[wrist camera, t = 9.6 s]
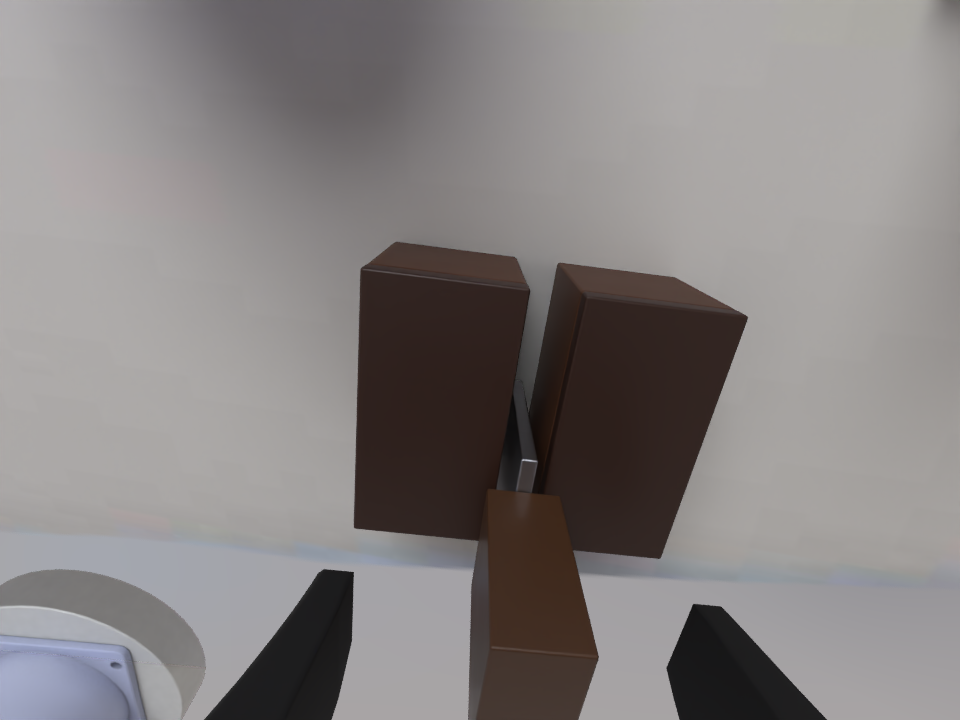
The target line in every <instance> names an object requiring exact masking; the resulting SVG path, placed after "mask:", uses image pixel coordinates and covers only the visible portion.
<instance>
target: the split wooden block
mask: <svg viewBox="0 0 960 720" xmlns="http://www.w3.org/2000/svg"><path fill="white" fill-rule="evenodd" d="M529 295H530V289H529V286H528V285H527V283H526V281H525V278H524V276H523V274H522V271H521V269H520V266H519V264H518V261H517V259H516V258H515V257H510V256H502V255H494V254H486V253H478V252H471V251H463V250H455V249H447V248H439V247H432V246H424V245H416V244H408V243H400V242H395V243H394V244H392V245H391V246H390V247H388V248H387V249H386V250H385V251H383V252H382V253H381V254H380V255H378V256H377V257H376V258H375V259H373V260H372V261H371V262H370V263H368V264H366V265H365V266H363V267H362V268H361V274H360V312H359V350H358V388H357V426H356V464H355V502H354V528H356V529H365V530H375V531H385V532H395V533H405V534H415V535H425V536H436V537H446V538H456V539H466V540H476V541H479V536H480V529H481V523H482V517H483V511H484V505H485V498H486V492H487V490H488V489H496V488H497V482H498V476H499V470H500V464H501V459H502V453H503V447H504V441H505V435H506V429H507V423H508V418H509V412H510V406H511V400H512V394H513V388H514V382H515V377H516V371H517V365H518V359H519V353H520V347H521V341H522V336H523V330H524V324H525V318H526V312H527V306H528V300H529ZM747 319H748V317H747V316H746V315H744V314H742V313H740V312H739V311H737V310H734V309H733V308H731V307H729V306H727V305H725V304H723V303H721V302H720V301H718V300H716V299H714V298H712V297H710V296H708V295H707V294H705V293H703V292H701V291H699V290H697V289H695V288H694V287H692V286H690V285H688V284H686V283H684V282H682V281H680V280H679V279H677V278H674V277H666V276H659V275H651V274H643V273H635V272H627V271H620V270H612V269H604V268H596V267H588V266H581V265H573V264H565V263H558V265H557V269H556V275H555V280H554V285H553V291H552V296H551V301H550V306H549V312H548V317H547V322H546V327H545V333H544V338H543V343H542V349H541V354H540V359H539V364H538V370H537V375H536V380H535V385H534V391H533V396H532V401H531V407H530V412H529V419H530V424H531V429H532V434H533V439H534V444H535V450H536V455H537V460H538V464H537V469H536V473H535V478H534V483H533V488H532V493H534V494H544V495H553V496H559V497H560V499H561V503H562V507H563V511H564V515H565V520H566V524H567V528H568V532H569V536H570V540H571V544H572V548H573V550H576V551H586V552H596V553H606V554H617V555H627V556H637V557H647V558H657V559H659V558H661V555H662V553H663V550H664V547H665V544H666V542H667V539H668V536H669V533H670V531H671V528H672V525H673V522H674V520H675V517H676V514H677V512H678V509H679V506H680V503H681V501H682V498H683V495H684V492H685V490H686V487H687V484H688V481H689V479H690V476H691V473H692V470H693V468H694V465H695V462H696V459H697V457H698V454H699V451H700V448H701V446H702V443H703V440H704V437H705V435H706V432H707V429H708V426H709V424H710V421H711V418H712V415H713V413H714V410H715V407H716V404H717V402H718V399H719V396H720V393H721V391H722V388H723V385H724V382H725V380H726V377H727V374H728V372H729V369H730V366H731V363H732V361H733V358H734V355H735V352H736V350H737V347H738V344H739V341H740V339H741V336H742V333H743V330H744V328H745V325H746V322H747Z"/></svg>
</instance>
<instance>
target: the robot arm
mask: <svg viewBox="0 0 960 720" xmlns="http://www.w3.org/2000/svg"><path fill="white" fill-rule="evenodd" d="M353 577H354V572H347V571H336V570H326V569H324V570H322V571H321V572H319V573H318V574H317V576H316V578H315V579H314V581H313V582H312V584H311V585H310V587H309V588H308V590H307V591H306V593H305V594H304V595H303V597H302V598H301V600H300V601H299V603H298V604H297V605H296V607H295V608H294V610H293V611H292V612H291V614H290V615H289V616H288V618H287V619H286V620H285V622H284V623H283V624H282V626H281V627H280V628H279V630H278V631H277V633H276V634H275V635H274V636H273V638H272V639H271V640H270V641H269V643H268V644H267V645H266V646H265V648H264V649H263V650H262V651H261V653H260V654H259V655H258V657H257V658H256V659H255V660H254V662H253V663H252V664H251V665H250V666H249V668H248V669H247V670H246V672H245V673H244V674H243V675H242V676H241V678H240V679H239V680H238V681H237V683H236V684H235V685H234V686H233V687H232V688H231V689H230V691H229V692H228V693H227V694H226V695H225V696H224V697H223V699H222V700H221V701H220V702H219V703H218V705H217V706H216V707H215V708H214V709H213V710H212V711H211V712H210V714H209V715H208V716H207V717H206V718H205V719H204V720H331V719H332V716H333V713H334V710H335V707H336V704H337V701H338V697H339V693H340V689H341V685H342V681H343V676H344V672H345V668H346V664H347V659H348V655H349V651H350V646H351V642H352V616H353V615H352V614H353ZM667 672H668V676H669V681H670V685H671V689H672V693H673V697H674V701H675V705H676V708H677V712H678V716H679V719H680V720H827V719H826V718H825V717H824V716H823V715H822V714H821V713H820V712H819V711H818V710H817V709H816V708H815V707H814V706H813V705H812V703H811V702H810V701H808V699H807V698H806V697H805V696H804V695H803V694H802V693H801V692H800V691H799V690H798V689H797V687H796V686H795V685H794V684H793V683H792V682H791V681H790V680H789V679H788V678H787V677H786V676H785V675H784V674H783V672H782V671H781V670H780V669H779V668H778V667H777V666H776V665H775V664H774V663H773V662H772V661H771V659H770V658H769V657H768V656H767V655H766V654H765V653H764V652H763V651H762V650H761V649H760V648H759V646H758V645H757V644H756V643H755V642H754V641H753V640H752V639H751V638H750V637H749V636H748V634H747V633H746V632H745V631H744V630H743V629H742V628H741V627H740V626H739V625H738V624H737V623H736V622H735V621H734V619H733V618H732V617H731V616H730V615H729V614H728V613H727V612H726V611H725V610H724V609H723V608H722V607H720V606H710V605H699V604H693V606H692V609H691V611H690V613H689V616H688V618H687V621H686V623H685V625H684V628H683V630H682V632H681V635H680V637H679V640H678V642H677V645H676V647H675V649H674V651H673V654H672V656H671V659H670V661H669V663H668V666H667ZM0 720H146V716H145V712H144V708H143V704H142V700H141V696H140V692H139V688H138V683H137V679H136V675H135V671H134V667H133V663H132V659H131V655H130V651H129V650H128V649H127V648H126V647H124V646H121V645H113V644H101V643H90V642H78V641H66V640H55V639H43V638H32V637H20V636H8V635H0Z"/></svg>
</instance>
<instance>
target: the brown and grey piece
mask: <svg viewBox="0 0 960 720" xmlns="http://www.w3.org/2000/svg"><path fill="white" fill-rule="evenodd" d="M537 464H538V460H537V455H536V450H535V444H534V439H533V434H532V429H531V424H530V419H529V414H528V408H527V403H526V398H525V393H524V388H523V383H522V381H519V380H515V382H514V388H513V394H512V400H511V406H510V412H509V418H508V423H507V429H506V435H505V441H504V447H503V453H502V459H501V464H500V470H499V476H498V482H497V488H496V489H488V490H487V492H486V498H485V505H484V511H483V517H482V523H481V529H480V536H479V542H478V548H477V554H476V561H475V567H474V573H473V579H472V589H471V629H470V670H469V710H468V720H578V719H579V716H580V713H581V709H582V706H583V703H584V701H585V698H586V695H587V691H588V689H589V685H590V683H591V680H592V677H593V674H594V671H595V668H596V664H597V662H598V658H599V656H598V652H597V648H596V644H595V640H594V635H593V631H592V627H591V624H590V619H589V615H588V611H587V607H586V602H585V599H584V594H583V590H582V586H581V582H580V577H579V573H578V569H577V565H576V561H575V557H574V553H573V548H572V544H571V540H570V536H569V532H568V528H567V524H566V520H565V515H564V511H563V507H562V503H561V499H560V497H559V496H553V495H544V494H534V493H532V488H533V483H534V478H535V473H536V469H537Z"/></svg>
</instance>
